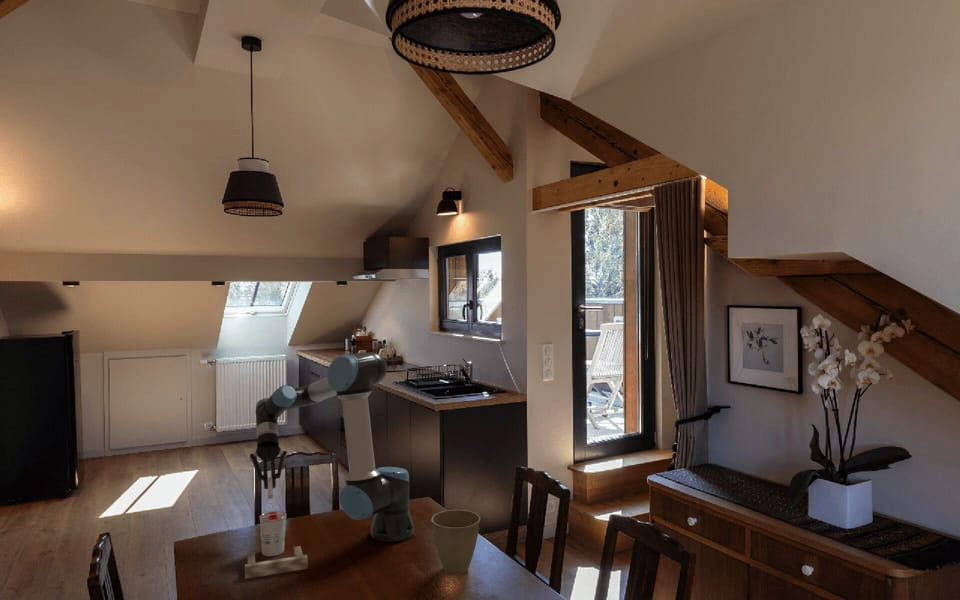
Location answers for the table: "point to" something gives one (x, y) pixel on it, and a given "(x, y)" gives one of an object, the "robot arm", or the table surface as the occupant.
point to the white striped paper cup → (272, 532)
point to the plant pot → (455, 538)
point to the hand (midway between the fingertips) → (270, 496)
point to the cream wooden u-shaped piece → (276, 564)
